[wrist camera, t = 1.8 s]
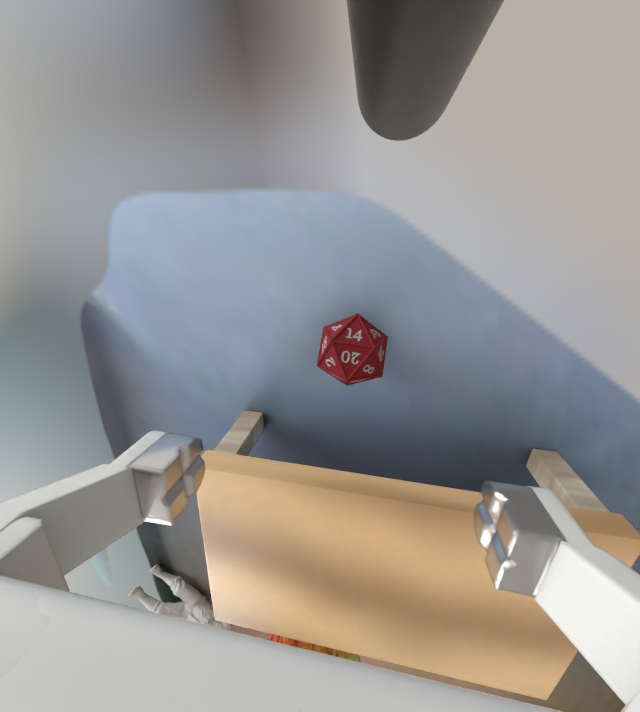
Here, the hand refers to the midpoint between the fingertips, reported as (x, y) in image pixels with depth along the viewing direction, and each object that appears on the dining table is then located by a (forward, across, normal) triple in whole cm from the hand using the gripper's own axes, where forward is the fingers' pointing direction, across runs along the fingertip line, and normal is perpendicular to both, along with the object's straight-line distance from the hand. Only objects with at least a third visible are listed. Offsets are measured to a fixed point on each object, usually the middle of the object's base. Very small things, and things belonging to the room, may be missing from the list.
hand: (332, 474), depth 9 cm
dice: (+12, 0, -1) cm, 12 cm away
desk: (+12, -3, +12) cm, 17 cm away
